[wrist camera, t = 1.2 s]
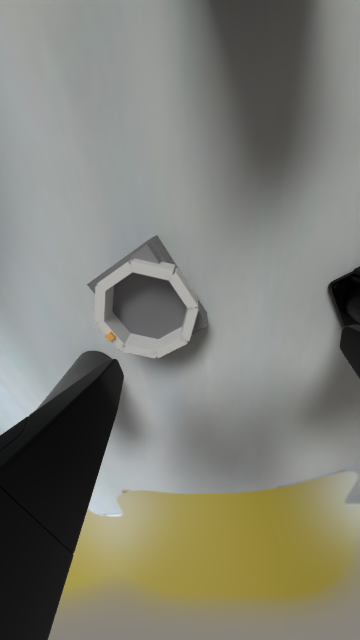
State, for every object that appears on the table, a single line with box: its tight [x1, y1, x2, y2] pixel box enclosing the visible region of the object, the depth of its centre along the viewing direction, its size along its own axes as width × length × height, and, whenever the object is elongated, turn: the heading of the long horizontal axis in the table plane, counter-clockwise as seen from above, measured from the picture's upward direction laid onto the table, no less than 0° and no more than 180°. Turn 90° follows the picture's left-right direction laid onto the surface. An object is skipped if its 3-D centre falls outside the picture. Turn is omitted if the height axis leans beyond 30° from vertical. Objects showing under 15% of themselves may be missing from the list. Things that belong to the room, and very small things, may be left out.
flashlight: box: [38, 351, 111, 409], centre depth 21 cm, size 5×5×12 cm
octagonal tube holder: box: [87, 235, 208, 359], centre depth 19 cm, size 9×8×5 cm
